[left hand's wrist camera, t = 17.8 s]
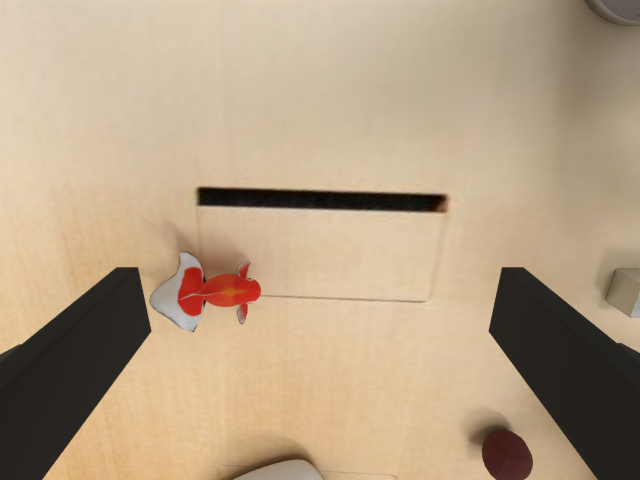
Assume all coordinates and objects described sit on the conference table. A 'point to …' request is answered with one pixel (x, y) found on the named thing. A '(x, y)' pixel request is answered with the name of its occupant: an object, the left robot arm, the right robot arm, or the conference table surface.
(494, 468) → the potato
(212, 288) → the fish
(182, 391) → the conference table surface
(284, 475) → the projector
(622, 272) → the block
